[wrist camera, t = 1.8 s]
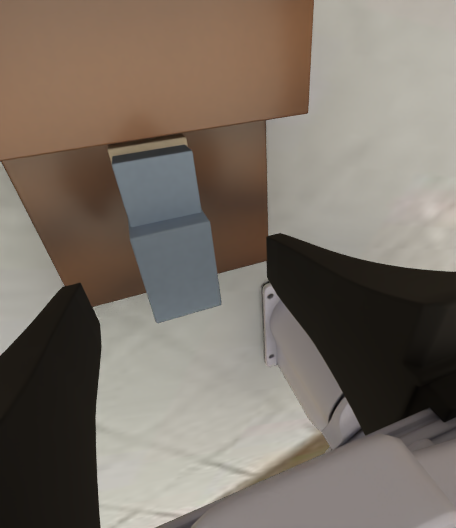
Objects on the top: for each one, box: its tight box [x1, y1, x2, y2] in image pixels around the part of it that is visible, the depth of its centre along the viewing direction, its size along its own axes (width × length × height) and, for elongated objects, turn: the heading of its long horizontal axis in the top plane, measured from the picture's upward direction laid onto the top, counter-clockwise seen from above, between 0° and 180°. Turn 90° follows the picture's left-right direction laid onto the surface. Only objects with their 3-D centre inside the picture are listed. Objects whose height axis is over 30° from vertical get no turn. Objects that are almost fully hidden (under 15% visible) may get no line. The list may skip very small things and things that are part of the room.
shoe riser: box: [0, 0, 314, 307], centre depth 12 cm, size 18×12×6 cm, turn 6°
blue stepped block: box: [108, 134, 221, 323], centre depth 14 cm, size 8×3×4 cm, turn 6°
